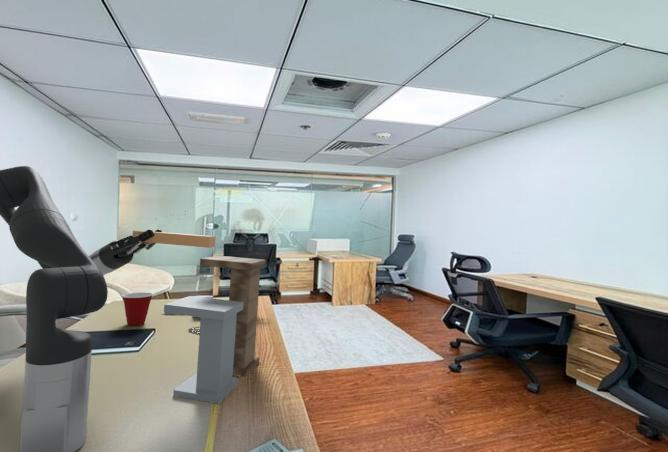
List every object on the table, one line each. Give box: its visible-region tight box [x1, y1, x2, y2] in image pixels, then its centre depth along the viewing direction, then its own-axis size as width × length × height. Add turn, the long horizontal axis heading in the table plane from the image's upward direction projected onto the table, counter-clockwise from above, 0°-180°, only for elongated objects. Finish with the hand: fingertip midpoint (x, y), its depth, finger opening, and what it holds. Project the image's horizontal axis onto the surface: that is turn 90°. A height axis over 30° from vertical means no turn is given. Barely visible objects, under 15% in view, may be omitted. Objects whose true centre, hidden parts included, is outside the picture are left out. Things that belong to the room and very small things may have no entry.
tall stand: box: [199, 255, 267, 377], centre depth 95 cm, size 16×10×32 cm, turn 80°
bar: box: [132, 230, 217, 249], centre depth 89 cm, size 24×3×3 cm, turn 80°
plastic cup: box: [121, 292, 154, 327], centre depth 125 cm, size 11×11×12 cm
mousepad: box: [188, 327, 200, 335], centre depth 122 cm, size 9×8×1 cm
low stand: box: [163, 295, 244, 405], centre depth 81 cm, size 16×10×22 cm, turn 80°
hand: (156, 232), depth 90 cm, fingers closed on bar, 3 cm apart
